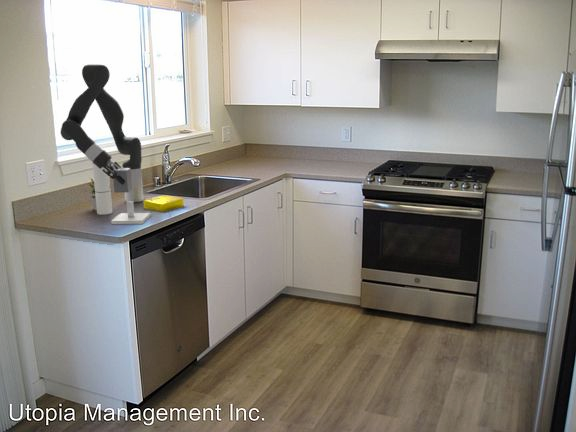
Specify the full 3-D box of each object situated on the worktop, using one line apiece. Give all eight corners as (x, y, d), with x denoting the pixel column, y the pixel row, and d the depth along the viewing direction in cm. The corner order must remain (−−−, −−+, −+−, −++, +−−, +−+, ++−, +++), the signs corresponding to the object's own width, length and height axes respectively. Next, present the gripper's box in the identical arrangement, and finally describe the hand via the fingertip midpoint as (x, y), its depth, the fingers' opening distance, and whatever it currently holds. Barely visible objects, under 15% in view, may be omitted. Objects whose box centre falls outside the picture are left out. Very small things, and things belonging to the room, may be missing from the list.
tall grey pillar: (119, 189, 273) (117, 168, 270) (132, 189, 273) (130, 167, 270) (114, 192, 267) (112, 170, 264) (128, 192, 267) (126, 170, 264)
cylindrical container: (114, 210, 291) (109, 160, 285) (110, 214, 284) (105, 162, 278) (99, 211, 291) (94, 160, 285) (95, 214, 284) (90, 162, 278)
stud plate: (120, 216, 280) (119, 198, 278) (150, 216, 280) (149, 198, 278) (111, 224, 267) (109, 205, 265) (142, 223, 266) (140, 205, 264)
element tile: (163, 212, 288) (162, 203, 286) (142, 208, 296) (141, 199, 295) (185, 206, 299) (184, 197, 298) (164, 203, 308) (164, 193, 307)
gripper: (97, 152, 258) (126, 179, 261) (108, 147, 272) (136, 172, 275) (86, 164, 260) (116, 190, 263) (98, 159, 274) (126, 184, 276)
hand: (126, 181), depth 269 cm, fingers closed on tall grey pillar, 6 cm apart
